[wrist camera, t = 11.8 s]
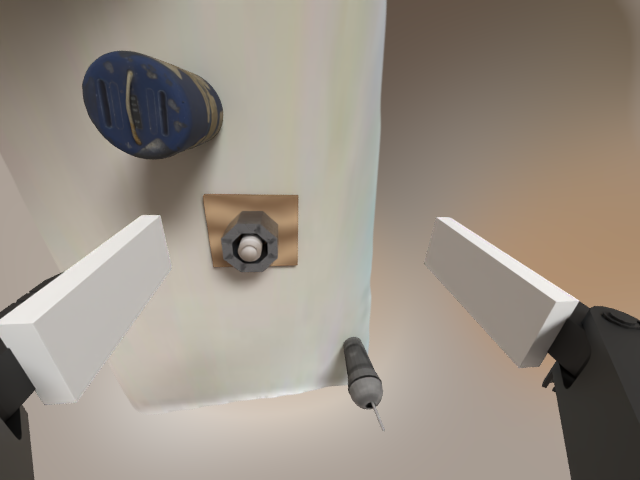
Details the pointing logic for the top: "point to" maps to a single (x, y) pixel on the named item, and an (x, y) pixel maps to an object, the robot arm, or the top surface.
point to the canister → (150, 105)
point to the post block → (277, 208)
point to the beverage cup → (362, 377)
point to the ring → (251, 224)
